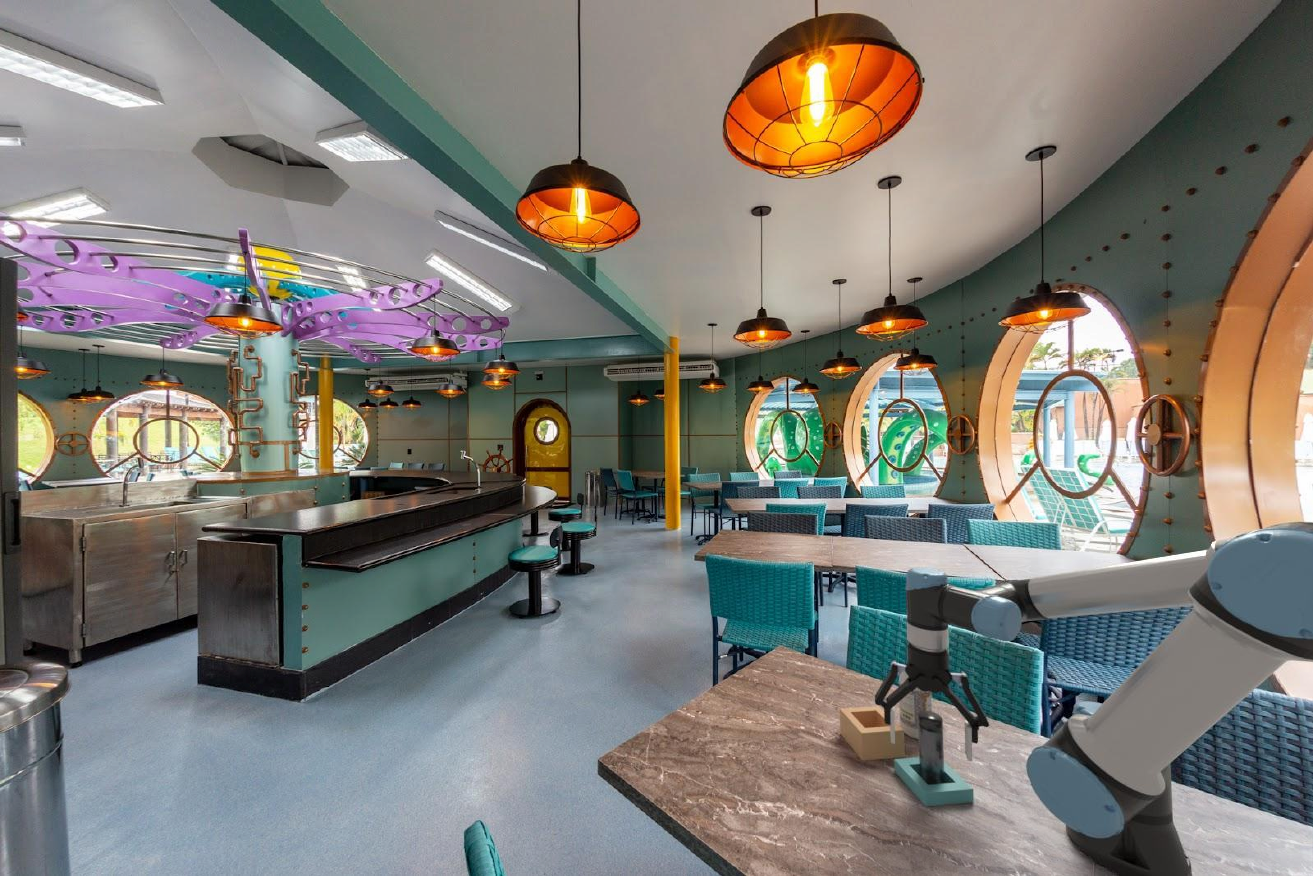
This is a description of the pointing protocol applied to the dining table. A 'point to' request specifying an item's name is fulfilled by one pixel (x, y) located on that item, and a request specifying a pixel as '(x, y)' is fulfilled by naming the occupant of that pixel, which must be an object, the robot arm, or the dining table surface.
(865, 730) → the socket
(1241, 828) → the dining table surface
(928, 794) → the mount
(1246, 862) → the dining table surface
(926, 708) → the bath foam
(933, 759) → the pin
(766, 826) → the dining table surface
